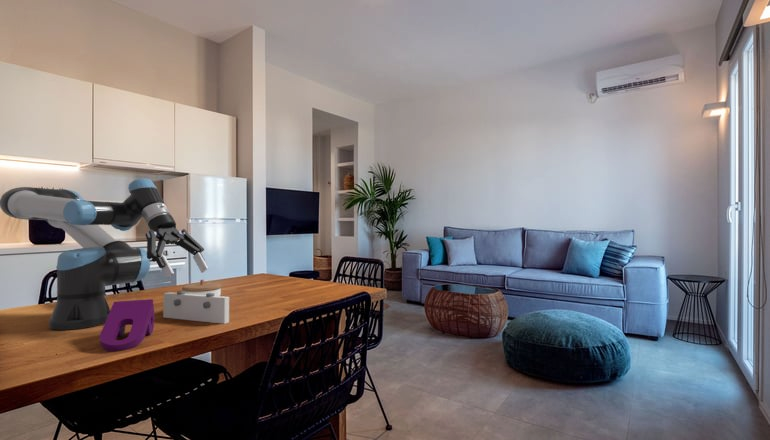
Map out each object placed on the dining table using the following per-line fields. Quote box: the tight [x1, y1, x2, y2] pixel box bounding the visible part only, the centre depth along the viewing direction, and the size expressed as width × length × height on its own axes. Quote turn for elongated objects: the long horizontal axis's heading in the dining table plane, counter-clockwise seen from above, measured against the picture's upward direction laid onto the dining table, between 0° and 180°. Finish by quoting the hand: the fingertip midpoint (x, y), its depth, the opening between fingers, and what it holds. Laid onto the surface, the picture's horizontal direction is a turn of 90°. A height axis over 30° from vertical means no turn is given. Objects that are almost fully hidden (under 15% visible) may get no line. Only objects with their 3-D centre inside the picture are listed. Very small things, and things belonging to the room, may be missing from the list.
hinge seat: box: [162, 290, 230, 325], centre depth 123 cm, size 25×3×9 cm, turn 71°
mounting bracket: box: [99, 298, 155, 352], centre depth 102 cm, size 9×8×18 cm
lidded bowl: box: [181, 279, 222, 296], centre depth 136 cm, size 13×13×11 cm
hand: (188, 273), depth 122 cm, fingers open, 13 cm apart
